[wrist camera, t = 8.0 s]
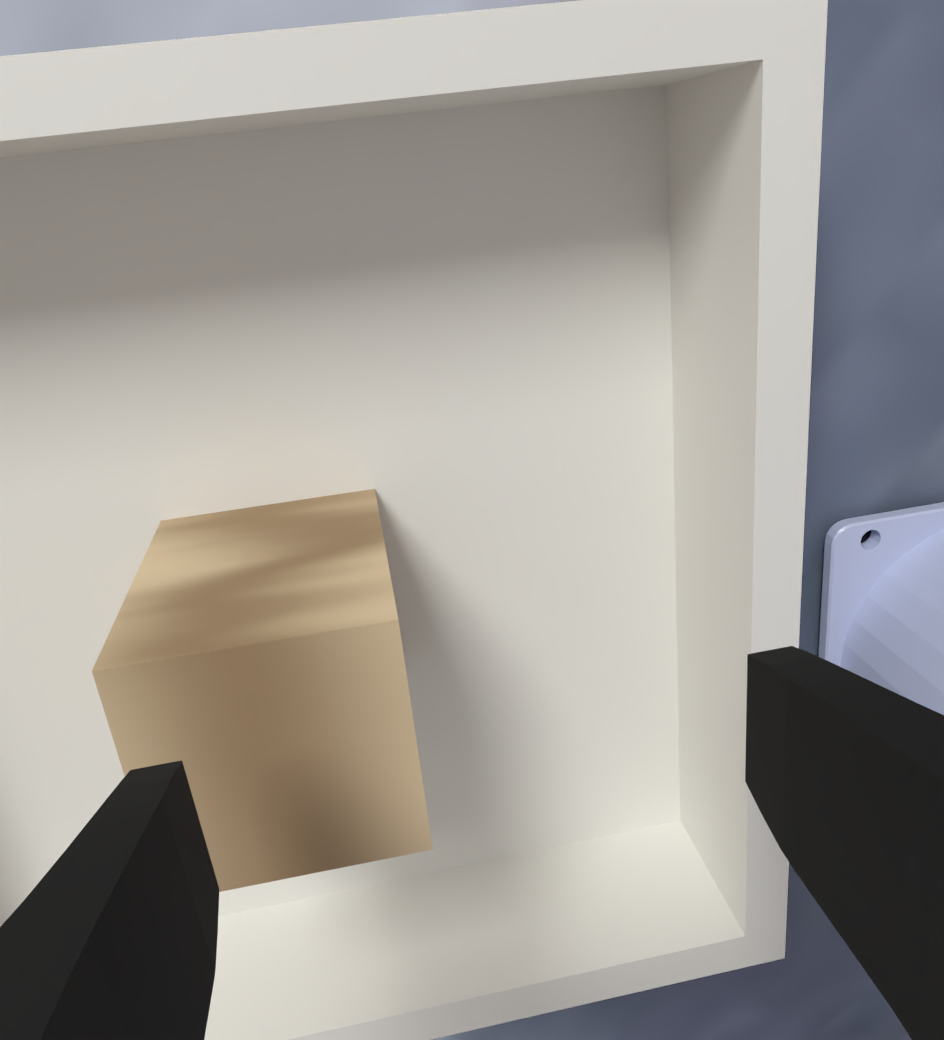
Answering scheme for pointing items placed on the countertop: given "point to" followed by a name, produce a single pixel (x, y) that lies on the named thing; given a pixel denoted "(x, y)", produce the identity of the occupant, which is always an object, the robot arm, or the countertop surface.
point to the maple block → (272, 686)
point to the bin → (436, 459)
